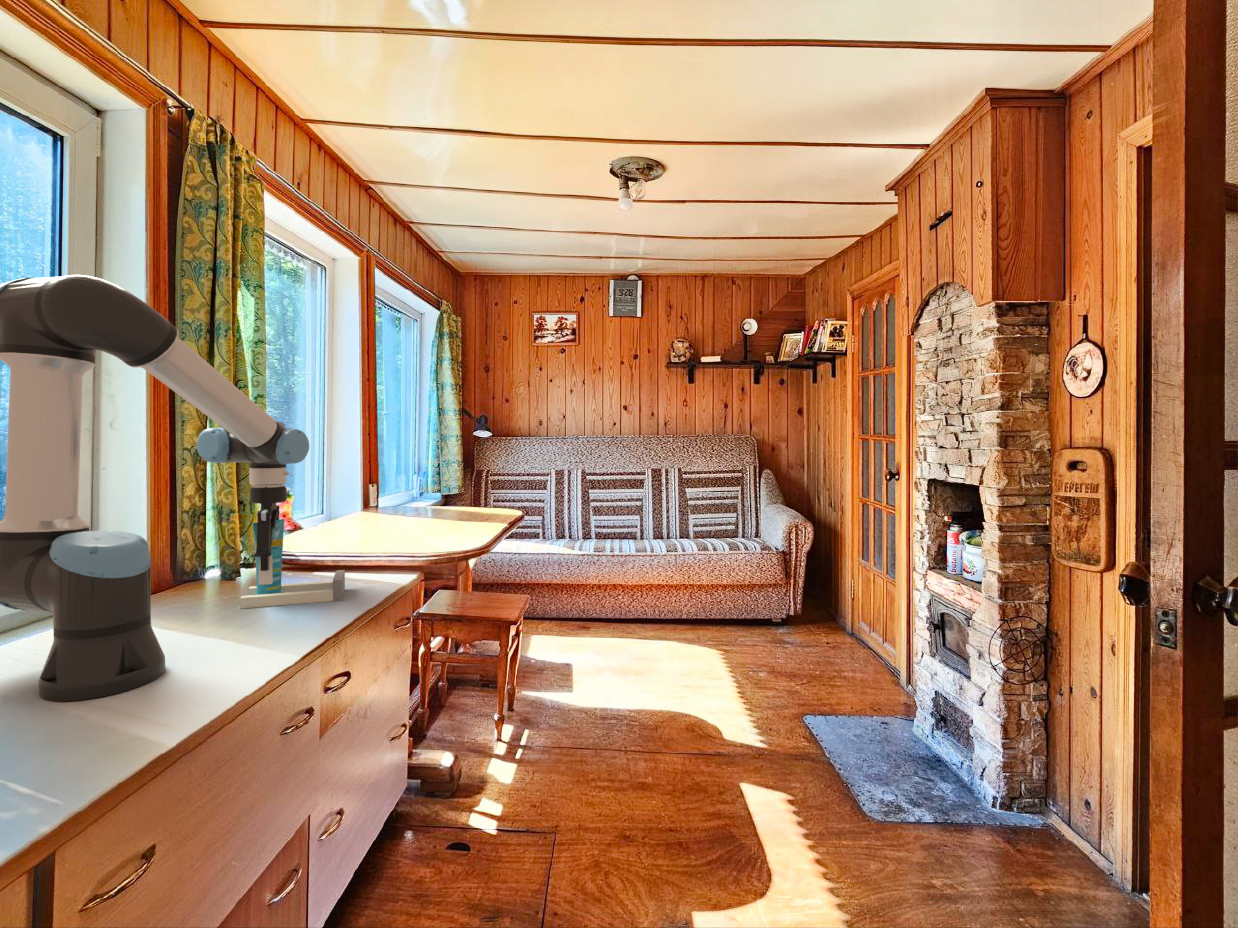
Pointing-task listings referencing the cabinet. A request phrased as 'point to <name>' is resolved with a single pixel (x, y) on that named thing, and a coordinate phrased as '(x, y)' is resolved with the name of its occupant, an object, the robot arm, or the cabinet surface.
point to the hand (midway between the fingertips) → (269, 578)
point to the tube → (276, 559)
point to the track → (298, 593)
